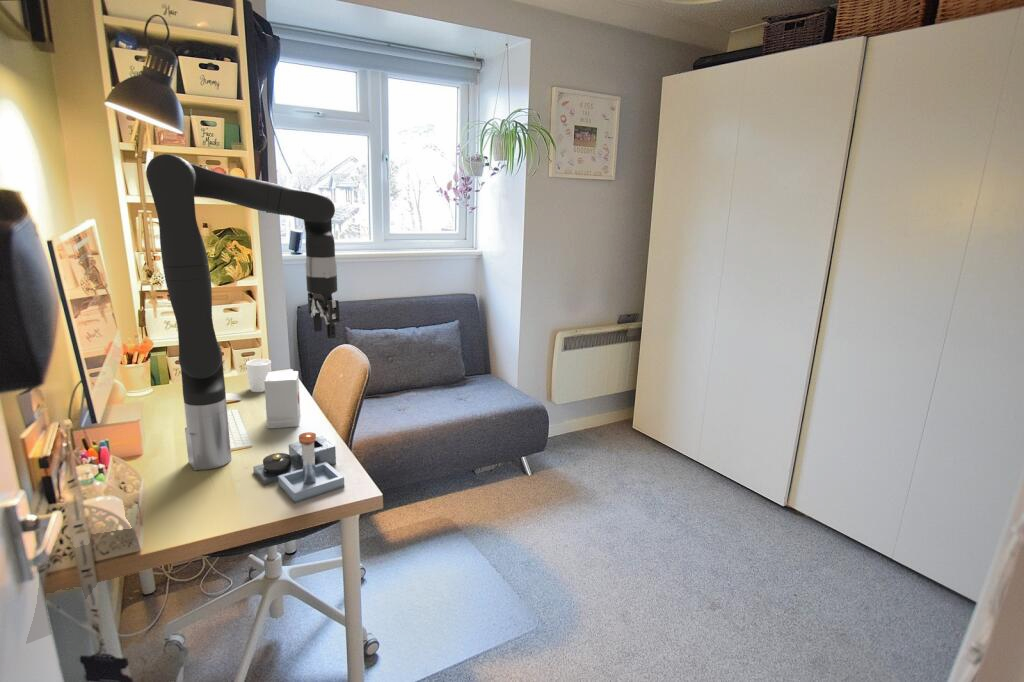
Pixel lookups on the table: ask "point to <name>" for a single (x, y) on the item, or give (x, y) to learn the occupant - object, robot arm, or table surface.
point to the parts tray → (324, 483)
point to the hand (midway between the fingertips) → (324, 334)
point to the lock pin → (308, 457)
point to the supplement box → (282, 399)
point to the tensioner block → (293, 460)
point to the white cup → (258, 373)
